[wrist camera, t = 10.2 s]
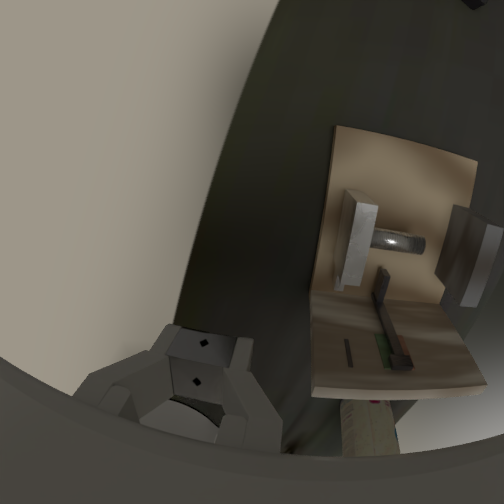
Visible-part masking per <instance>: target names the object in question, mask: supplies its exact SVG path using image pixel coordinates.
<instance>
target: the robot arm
mask: <svg viewBox="0 0 504 504" xmlns="http://www.w3.org/2000/svg"><path fill="white" fill-rule="evenodd" d="M253 343H254V340H253V339H251V338H244V337H234V336H228V335H222V334H216V333H210V332H206V331H201V330H196V329H192V328H187V327H182V326H178V325H173V324H168V325H166V326H165V328H164V329H163V331H162V333H161V334H160V336H159V337H158V339H157V340H156V342H155V343H154V345H153V346H152V348H151V349H150V351H147V350H145V351H142V352H140V353H138V354H136V355H133V356H131V357H129V358H126V359H124V360H121V361H119V362H117V363H114V364H112V365H110V366H107V367H105V368H102V369H100V370H97V371H95V372H93V373H90V374H89V375H88V376H87V378H86V379H85V380H84V382H83V383H82V384H81V385H80V387H79V388H78V389H77V391H76V392H75V393H74V395H73V396H70V395H67V394H65V393H63V392H61V391H59V390H57V389H55V388H53V387H51V386H49V385H47V384H46V383H44V382H41V381H40V380H38V379H36V378H34V377H33V376H31V375H29V374H27V373H26V372H24V371H22V370H21V369H19V368H17V367H16V366H14V365H12V364H11V363H9V362H8V361H6V360H4V359H3V358H1V357H0V504H504V434H501V435H498V436H495V437H491V438H487V439H483V440H480V441H475V442H471V443H467V444H463V445H458V446H452V447H447V448H442V449H436V450H430V451H422V452H415V453H407V454H395V455H382V456H361V457H326V456H304V455H290V454H280V446H281V436H282V425H283V421H282V419H281V418H280V416H279V415H278V413H277V412H276V410H275V409H274V407H273V406H272V404H271V403H270V401H269V400H268V398H267V396H266V395H265V393H264V392H263V390H262V389H261V387H260V386H259V384H258V382H257V381H256V379H255V378H254V376H253V375H252V373H251V372H250V367H251V360H252V351H253ZM174 395H179V396H183V397H188V398H193V399H198V400H202V401H206V402H210V403H215V404H219V405H222V407H223V409H224V412H225V414H226V415H225V416H223V418H222V421H221V425H220V428H218V427H216V426H215V425H214V424H213V423H212V422H211V421H210V420H209V419H208V418H206V417H205V416H204V415H202V414H201V413H199V412H197V411H196V410H194V409H192V408H190V407H188V406H186V405H183V404H181V403H178V402H175V401H171V400H168V399H170V398H171V397H173V396H174Z"/></svg>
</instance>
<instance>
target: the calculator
mask: <svg viewBox="0 0 504 504" xmlns="http://www.w3.org/2000/svg"><path fill="white" fill-rule="evenodd" d="M462 1H463V2H464V3H465V4H466V5H467V6H469V7H470V8H471V9H473V10H474V9H476V8H478V7H480V6H483V5H485V4H486V3H487V1H488V0H462Z"/></svg>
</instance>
